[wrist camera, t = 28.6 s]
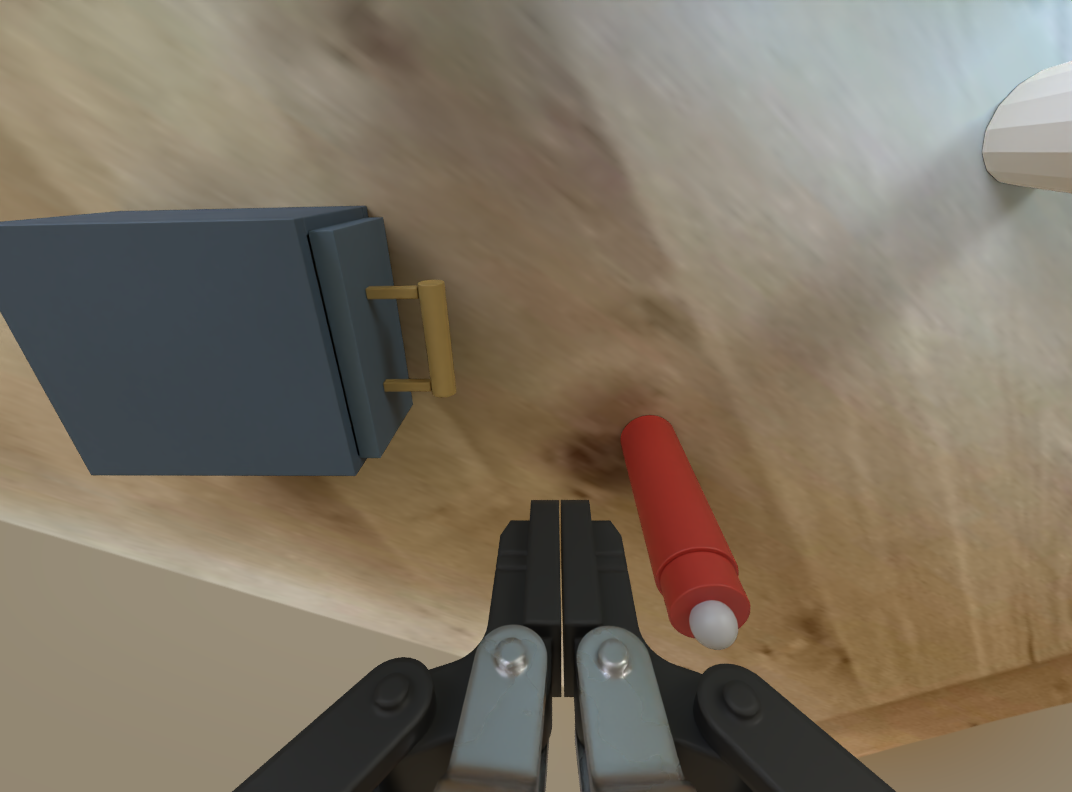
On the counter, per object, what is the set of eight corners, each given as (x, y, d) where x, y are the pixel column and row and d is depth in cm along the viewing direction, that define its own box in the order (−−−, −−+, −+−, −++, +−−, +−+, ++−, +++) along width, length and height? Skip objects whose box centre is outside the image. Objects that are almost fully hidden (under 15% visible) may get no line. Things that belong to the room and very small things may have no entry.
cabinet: (367, 205, 27) (293, 218, 20) (401, 405, 33) (355, 476, 26) (117, 211, 28) (-49, 226, 20) (195, 406, 34) (90, 475, 26)
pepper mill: (650, 404, 33) (732, 597, 18) (685, 438, 34) (789, 646, 19) (609, 438, 34) (652, 643, 19) (644, 469, 35) (710, 686, 20)
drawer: (454, 215, 27) (424, 228, 20) (472, 404, 32) (452, 458, 26) (146, 222, 27) (28, 236, 21) (215, 405, 33) (137, 458, 27)
